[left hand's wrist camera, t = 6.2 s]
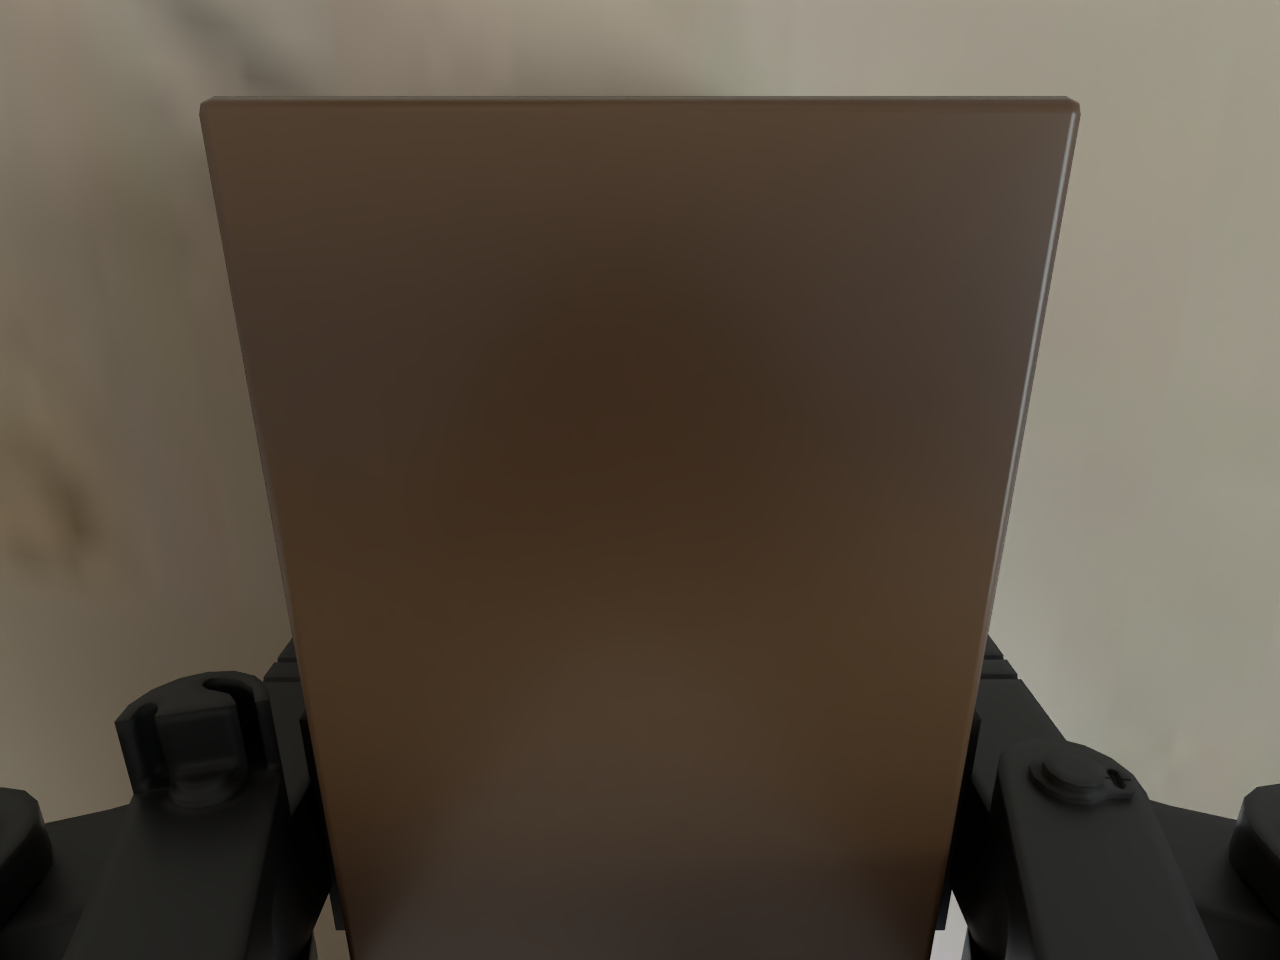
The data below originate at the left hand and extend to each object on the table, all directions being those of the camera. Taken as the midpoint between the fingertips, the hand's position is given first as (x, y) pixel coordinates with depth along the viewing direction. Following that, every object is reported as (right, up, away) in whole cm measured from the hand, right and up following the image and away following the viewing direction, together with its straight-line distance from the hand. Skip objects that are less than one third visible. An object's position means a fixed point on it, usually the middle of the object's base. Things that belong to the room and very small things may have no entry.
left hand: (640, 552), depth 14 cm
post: (0, -26, +11) cm, 28 cm away
